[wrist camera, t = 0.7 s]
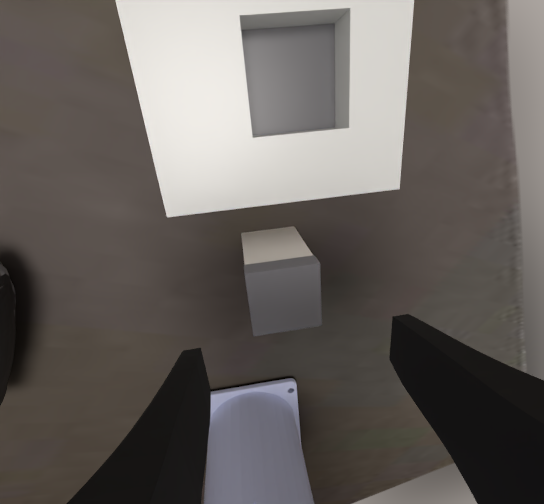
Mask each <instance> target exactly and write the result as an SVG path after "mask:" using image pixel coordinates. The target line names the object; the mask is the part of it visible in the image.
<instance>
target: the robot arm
mask: <svg viewBox="0 0 544 504" xmlns="http://www.w3.org/2000/svg"><path fill="white" fill-rule="evenodd" d="M390 361H391V363H392V365H393V367H394V369H395V371H396V373H397V375H398V377H399V379H400V380H401V382H402V384H403V386H404V387H405V389H406V390H407V392H408V393H409V395H410V396H411V398H412V399H413V400H414V402H415V403H416V405H417V406H418V408H419V409H420V411H421V412H422V414H423V415H424V417H425V418H426V419H427V421H428V422H429V424H430V425H431V427H432V428H433V430H434V431H435V432H436V434H437V435H438V437H439V438H440V440H441V441H442V443H443V444H444V446H445V447H446V449H447V451H448V452H449V454H450V455H451V457H452V459H453V460H454V462H455V464H456V466H457V467H458V469H459V471H460V473H461V474H462V476H463V478H464V480H465V481H466V483H467V485H468V487H469V488H470V490H471V492H472V494H473V495H474V498H475V500H476V502H477V503H478V504H544V381H543V380H541V379H539V378H536V377H534V376H531V375H529V374H527V373H524V372H522V371H519V370H517V369H515V368H512V367H510V366H508V365H506V364H504V363H501V362H499V361H497V360H495V359H493V358H491V357H489V356H487V355H485V354H483V353H481V352H479V351H477V350H475V349H473V348H471V347H469V346H467V345H465V344H463V343H461V342H459V341H457V340H456V339H454V338H452V337H450V336H448V335H446V334H444V333H443V332H441V331H439V330H437V329H435V328H433V327H432V326H430V325H428V324H426V323H424V322H423V321H421V320H419V319H417V318H415V317H413V316H411V315H409V314H406V315H400V316H394V317H393V320H392V333H391V346H390ZM290 388H292V389H290ZM207 444H208V449H207ZM206 453H207V464H206V478H205V493H204V504H314V501H313V496H312V492H311V487H310V483H309V478H308V474H307V470H306V465H305V461H304V456H303V452H302V447H301V435H300V423H299V410H298V397H297V385H296V381H295V380H294V379H293V378H288V379H282V380H276V381H270V382H265V383H259V384H253V385H247V386H241V387H236V388H230V389H224V390H218V391H212V392H211V390H210V385H209V381H208V377H207V373H206V368H205V364H204V360H203V356H202V351H201V348H197V349H191V350H185V351H183V352H182V353H181V355H180V356H179V358H178V360H177V362H176V363H175V365H174V367H173V368H172V370H171V372H170V373H169V375H168V377H167V378H166V380H165V382H164V383H163V385H162V386H161V388H160V389H159V391H158V392H157V394H156V395H155V397H154V398H153V400H152V402H151V403H150V404H149V406H148V407H147V409H146V410H145V411H144V413H143V414H142V416H141V417H140V418H139V420H138V421H137V423H136V424H135V425H134V427H133V428H132V429H131V431H130V432H129V433H128V435H127V436H126V437H125V438H124V440H123V441H122V442H121V444H120V445H119V446H118V447H117V448H116V450H115V451H114V452H113V453H112V454H111V456H110V457H109V458H108V459H107V460H106V462H105V463H104V464H103V465H102V466H101V467H100V468H99V469H98V471H97V472H96V473H95V474H94V475H93V476H92V477H91V478H90V479H89V480H88V482H87V483H86V484H85V485H84V486H83V487H82V488H81V489H80V490H79V491H78V492H77V493H76V495H75V496H74V497H73V498H72V499H71V500H70V501H69V502H68V503H67V504H201V495H202V486H203V477H204V469H205V461H206Z"/></svg>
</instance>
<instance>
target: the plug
mask: <svg viewBox="0 0 544 504" xmlns="http://www.w3.org/2000/svg"><path fill="white" fill-rule="evenodd" d="M241 237H242V246H243V255H244V264H245V265H244V274H245V281H246V288H247V295H248V302H249V309H250V316H251V323H252V330H253V336H260V335H266V334H272V333H279V332H285V331H291V330H298V329H304V328H310V327H316V326H322V308H321V275H320V262H319V261H318V259H317V258H316V256H315V255H313V254H312V253H311V251H310V250H309V248H308V247H307V245H306V244H305V242H304V241H303V239H302V237H301V236H300V234H299V233H298V231H297V230H296V228H295V227H294V226H292V227H284V228H276V229H269V230H261V231H253V232H245V233H241Z"/></svg>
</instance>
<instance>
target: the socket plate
mask: <svg viewBox="0 0 544 504" xmlns="http://www.w3.org/2000/svg"><path fill="white" fill-rule="evenodd" d="M116 5H117V9H118V13H119V17H120V21H121V26H122V30H123V34H124V38H125V42H126V47H127V51H128V55H129V59H130V64H131V68H132V72H133V76H134V80H135V85H136V89H137V93H138V97H139V101H140V106H141V110H142V114H143V118H144V122H145V127H146V131H147V135H148V139H149V144H150V148H151V152H152V156H153V160H154V165H155V169H156V173H157V177H158V181H159V186H160V190H161V194H162V198H163V202H164V207H165V211H166V215H167V217H174V216H182V215H190V214H198V213H207V212H215V211H223V210H231V209H239V208H248V207H256V206H264V205H272V204H280V203H289V202H297V201H305V200H313V199H321V198H330V197H338V196H346V195H354V194H362V193H371V192H379V191H387V190H395V189H399V188H400V175H401V162H402V149H403V137H404V124H405V111H406V98H407V85H408V72H409V59H410V46H411V33H412V20H413V7H414V0H116Z"/></svg>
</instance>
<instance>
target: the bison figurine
mask: <svg viewBox="0 0 544 504" xmlns="http://www.w3.org/2000/svg"><path fill="white" fill-rule="evenodd" d="M15 303H16V296H15V289H14V285H13V284H12V282H11V280H10V276H9V274H8V271H7V269H6V268H5V267H4V266H3V265H2V263H1V262H0V405H1V403H2V402H3V399H4V397H5V394H6V390H7V385H8V380H9V376H10V372H11V368H12V364H13V358H14V349H15V335H16V326H15Z"/></svg>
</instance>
